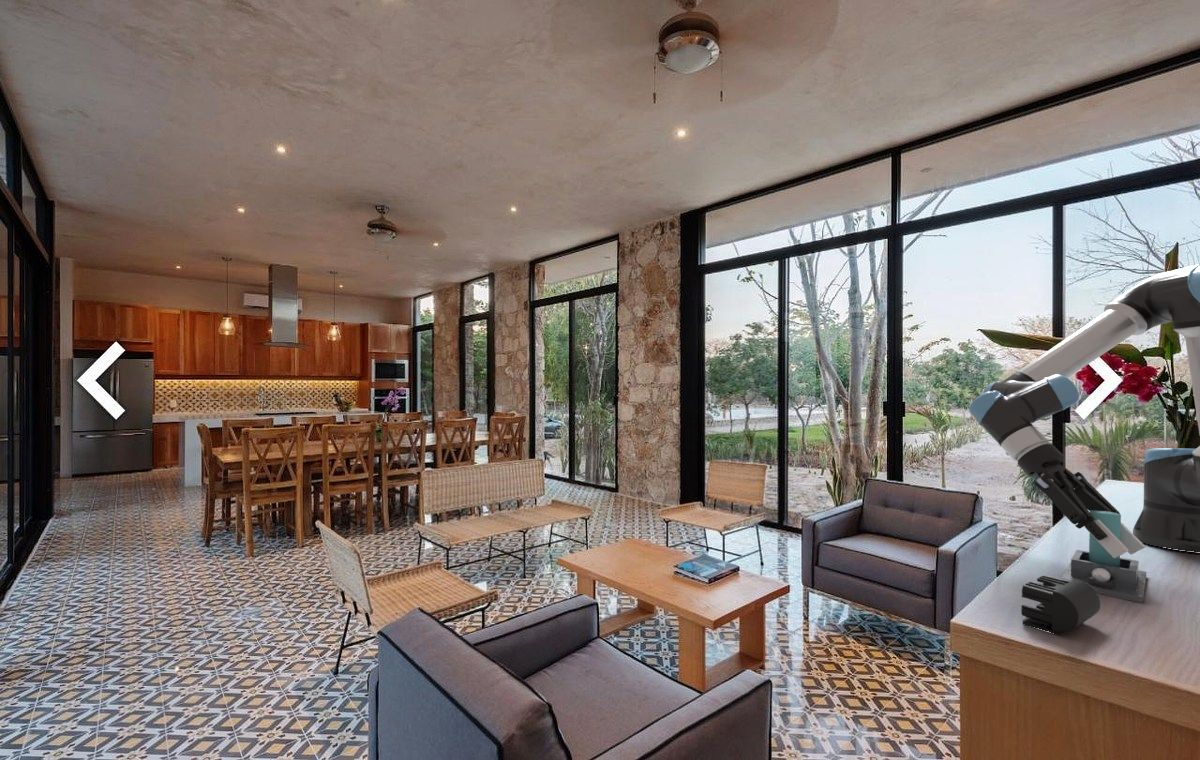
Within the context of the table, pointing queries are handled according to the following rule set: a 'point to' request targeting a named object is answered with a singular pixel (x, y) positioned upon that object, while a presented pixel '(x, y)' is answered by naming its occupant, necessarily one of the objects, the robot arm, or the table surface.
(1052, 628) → the end cap
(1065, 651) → the table surface
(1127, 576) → the stand
